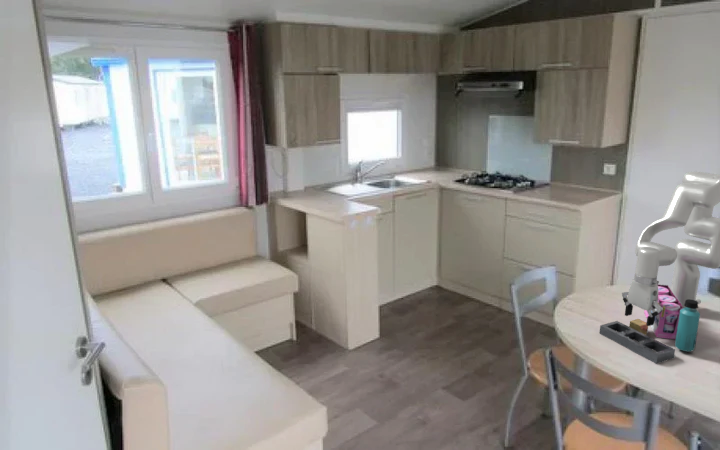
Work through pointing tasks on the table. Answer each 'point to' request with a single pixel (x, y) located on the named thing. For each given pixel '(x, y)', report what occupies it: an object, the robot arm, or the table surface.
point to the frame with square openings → (642, 345)
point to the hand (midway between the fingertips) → (638, 320)
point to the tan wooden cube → (639, 326)
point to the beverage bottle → (687, 326)
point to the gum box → (666, 313)
